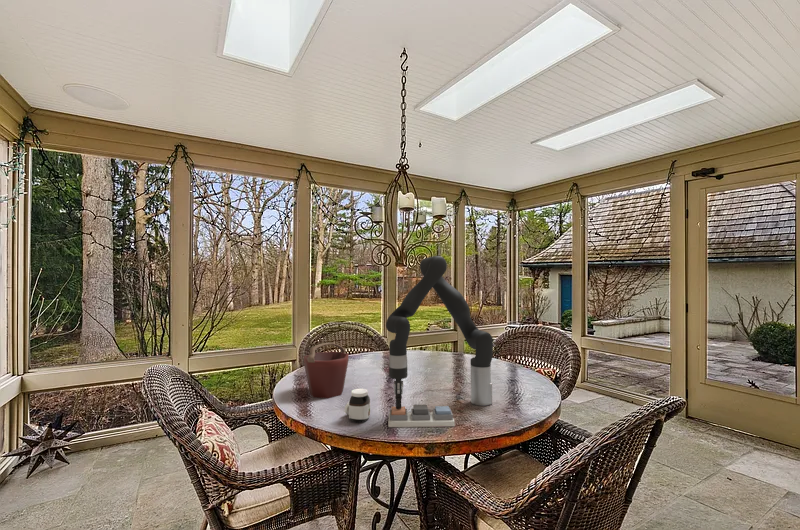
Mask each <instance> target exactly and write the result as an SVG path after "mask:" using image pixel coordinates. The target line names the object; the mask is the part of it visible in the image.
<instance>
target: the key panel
mask: <svg viewBox="0 0 800 530" xmlns="http://www.w3.org/2000/svg"><path fill="white" fill-rule="evenodd" d="M410 410H411V411H410V412H408V408H405V411H406V415H392V408H389V412H388V421H387V422H388V425H387V427H388V428H432V427H433V428H434V427H435V428H437V427H439V428H440V427H456V425H455V419H454V414H453V412H452V409H451V408H450V411H451V414H444V415H436V413H435V408H432V411H431V412H430V408H428V415H414V411H413V408H411V409H410Z"/></svg>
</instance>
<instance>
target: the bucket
mask: <svg viewBox="0 0 800 530" xmlns="http://www.w3.org/2000/svg"><path fill="white" fill-rule="evenodd" d="M328 345H332V346H335V347H337V348H338V349H339V350H340V351H323V352H322V351H321V352H316V350H317V349H319V348H321V347H323V346H328ZM349 355H350V354H349V353H346V349H345V348H344V346H342V345H340V344H338V343H334V342H323V343H319V344H316V345H313V346H312V347H310V348H309V354H307V355H304V356H303V365H304V371H305V375H306V381H307V387H308V390H309V394H310V395H311V396H312V398H314V399H315V398H317V399H319V398H320V399H330V398H335V397H340V396H341V395H342V394H343V393H344V392H343V391H344V388H345V383H346V382H345V381H346V376H347V370H348V365H349Z"/></svg>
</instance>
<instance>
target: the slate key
mask: <svg viewBox="0 0 800 530" xmlns="http://www.w3.org/2000/svg"><path fill="white" fill-rule="evenodd" d="M434 409H435V413H436V415H444V414H451V411H452V410H451V411H450V409H451V408H450V407H449V405H444V406H443V405H442V406H441V405H435V406H434Z"/></svg>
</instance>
